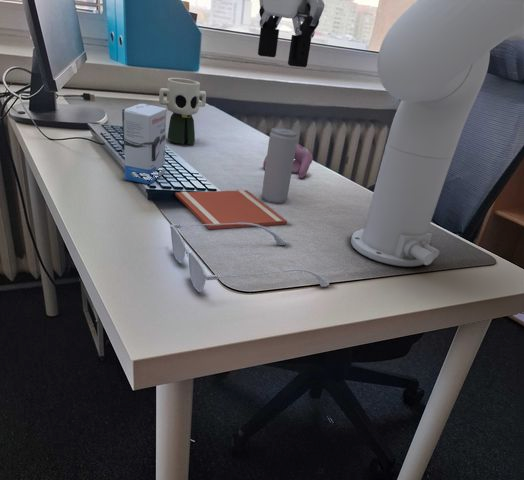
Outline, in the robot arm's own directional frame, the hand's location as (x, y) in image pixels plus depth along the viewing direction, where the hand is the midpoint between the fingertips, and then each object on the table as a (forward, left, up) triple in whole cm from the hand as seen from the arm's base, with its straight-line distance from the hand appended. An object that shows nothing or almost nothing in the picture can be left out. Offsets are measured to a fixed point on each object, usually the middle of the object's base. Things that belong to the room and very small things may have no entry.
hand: (281, 61), depth 82 cm
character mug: (+37, +2, -22) cm, 43 cm away
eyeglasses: (-26, +16, -22) cm, 38 cm away
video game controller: (+15, -14, -22) cm, 30 cm away
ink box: (+13, +18, -22) cm, 32 cm away
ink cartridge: (+29, +16, -22) cm, 40 cm away
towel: (-5, +9, -22) cm, 25 cm away
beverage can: (-1, -2, -22) cm, 23 cm away
